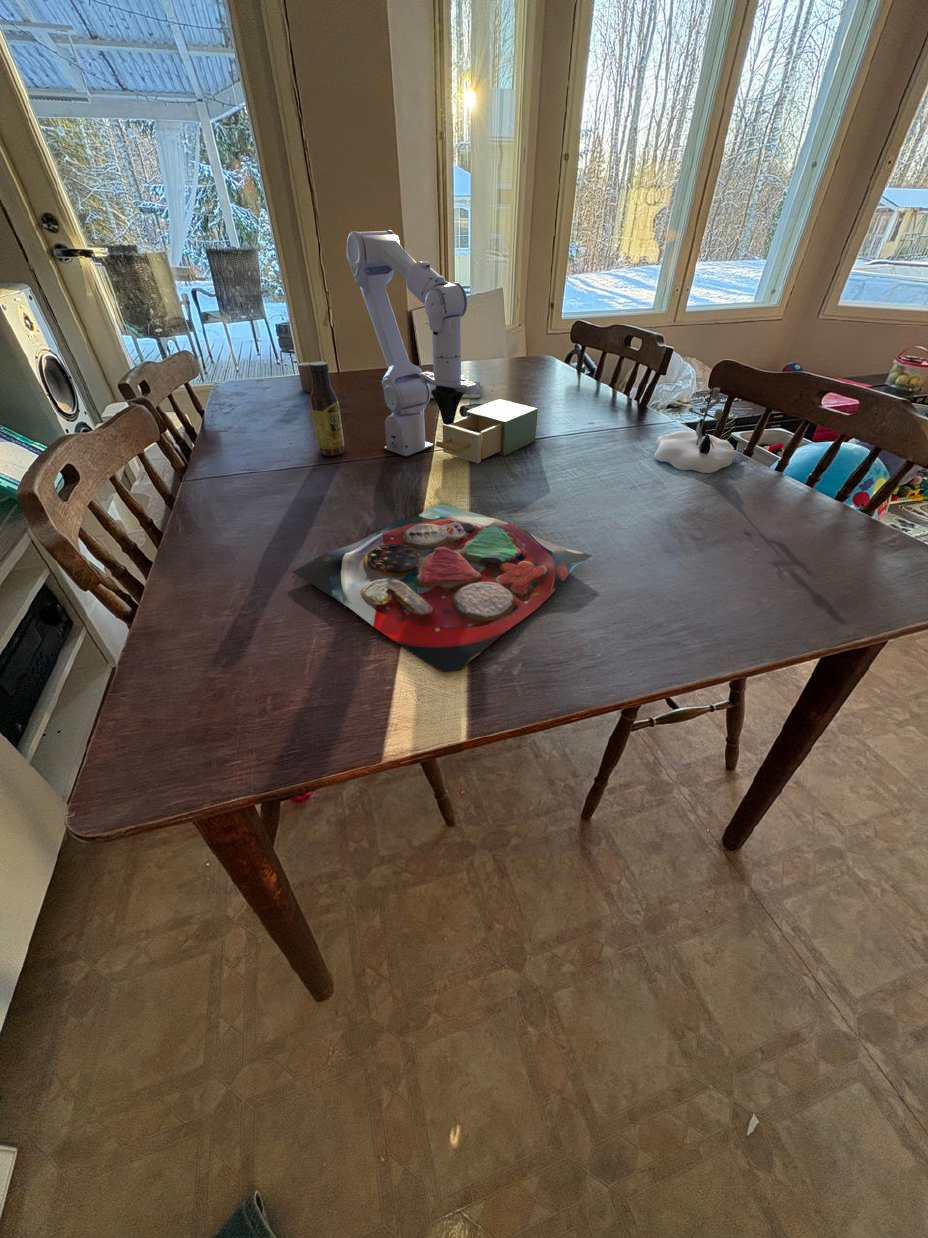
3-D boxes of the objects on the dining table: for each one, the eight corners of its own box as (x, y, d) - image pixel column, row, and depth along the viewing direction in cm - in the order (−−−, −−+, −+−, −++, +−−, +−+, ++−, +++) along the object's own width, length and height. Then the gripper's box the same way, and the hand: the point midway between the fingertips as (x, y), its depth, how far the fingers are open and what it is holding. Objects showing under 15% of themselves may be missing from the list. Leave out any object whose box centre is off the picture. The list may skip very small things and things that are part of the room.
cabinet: (503, 455, 122) (505, 421, 117) (466, 443, 129) (466, 411, 123) (535, 440, 130) (538, 408, 125) (498, 430, 136) (499, 398, 131)
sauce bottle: (339, 458, 122) (324, 367, 109) (315, 456, 123) (297, 366, 110) (349, 448, 127) (336, 360, 114) (326, 446, 128) (310, 359, 115)
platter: (439, 503, 103) (439, 494, 102) (591, 566, 85) (593, 556, 84) (293, 576, 83) (290, 566, 82) (451, 679, 65) (451, 668, 64)
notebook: (479, 386, 168) (415, 387, 168) (479, 381, 167) (414, 381, 167) (480, 398, 158) (412, 398, 158) (480, 393, 157) (411, 393, 157)
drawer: (464, 469, 114) (464, 440, 110) (430, 457, 120) (428, 429, 116) (509, 448, 124) (511, 421, 120) (476, 438, 130) (476, 411, 125)
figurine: (665, 431, 132) (681, 364, 120) (740, 445, 124) (765, 375, 113) (641, 465, 120) (657, 394, 108) (723, 483, 113) (749, 409, 101)
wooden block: (320, 390, 166) (315, 363, 161) (311, 393, 163) (306, 365, 158) (311, 388, 168) (306, 361, 163) (302, 391, 165) (297, 364, 160)
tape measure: (480, 414, 146) (481, 400, 144) (491, 421, 141) (491, 407, 139) (459, 417, 144) (458, 403, 142) (469, 425, 139) (468, 410, 137)
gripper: (486, 357, 102) (485, 426, 110) (436, 346, 110) (438, 411, 118) (462, 363, 98) (463, 434, 106) (411, 352, 106) (415, 419, 114)
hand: (448, 423), depth 112 cm, fingers closed
